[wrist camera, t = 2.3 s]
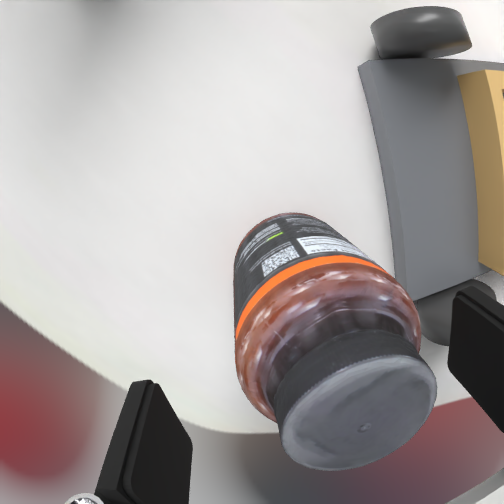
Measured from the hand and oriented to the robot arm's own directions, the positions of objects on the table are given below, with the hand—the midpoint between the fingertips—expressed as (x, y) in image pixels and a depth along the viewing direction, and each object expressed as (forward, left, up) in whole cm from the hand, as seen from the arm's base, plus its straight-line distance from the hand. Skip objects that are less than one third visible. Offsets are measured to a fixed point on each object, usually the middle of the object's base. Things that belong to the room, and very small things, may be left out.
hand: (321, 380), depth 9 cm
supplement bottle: (-1, 0, -9) cm, 9 cm away
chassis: (-18, -3, -9) cm, 20 cm away
